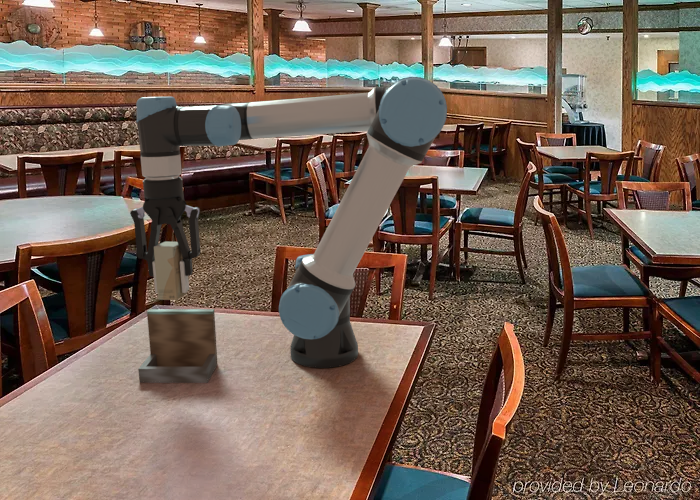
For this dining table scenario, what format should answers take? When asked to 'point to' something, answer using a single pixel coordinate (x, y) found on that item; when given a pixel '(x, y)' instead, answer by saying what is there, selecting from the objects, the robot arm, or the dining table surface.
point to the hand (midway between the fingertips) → (172, 290)
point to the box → (168, 271)
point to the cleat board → (180, 346)
